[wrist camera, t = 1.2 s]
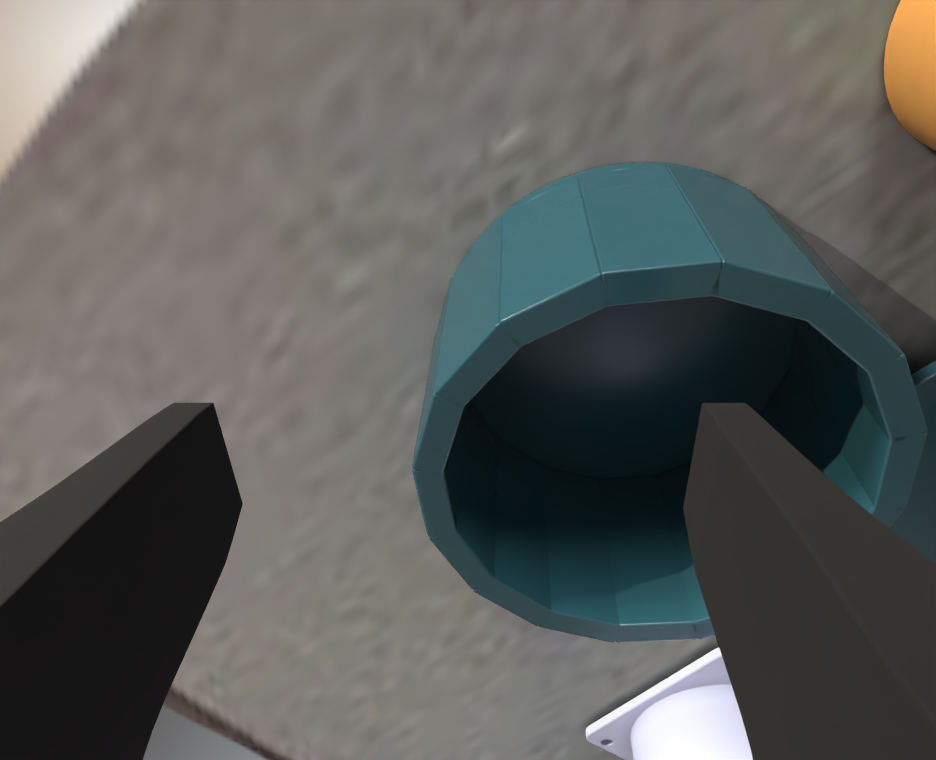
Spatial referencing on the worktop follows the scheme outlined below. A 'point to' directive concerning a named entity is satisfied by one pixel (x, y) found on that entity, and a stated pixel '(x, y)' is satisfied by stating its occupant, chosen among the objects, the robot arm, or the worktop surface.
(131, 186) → the worktop surface
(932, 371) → the lid
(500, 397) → the pot
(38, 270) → the worktop surface
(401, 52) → the worktop surface
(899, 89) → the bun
